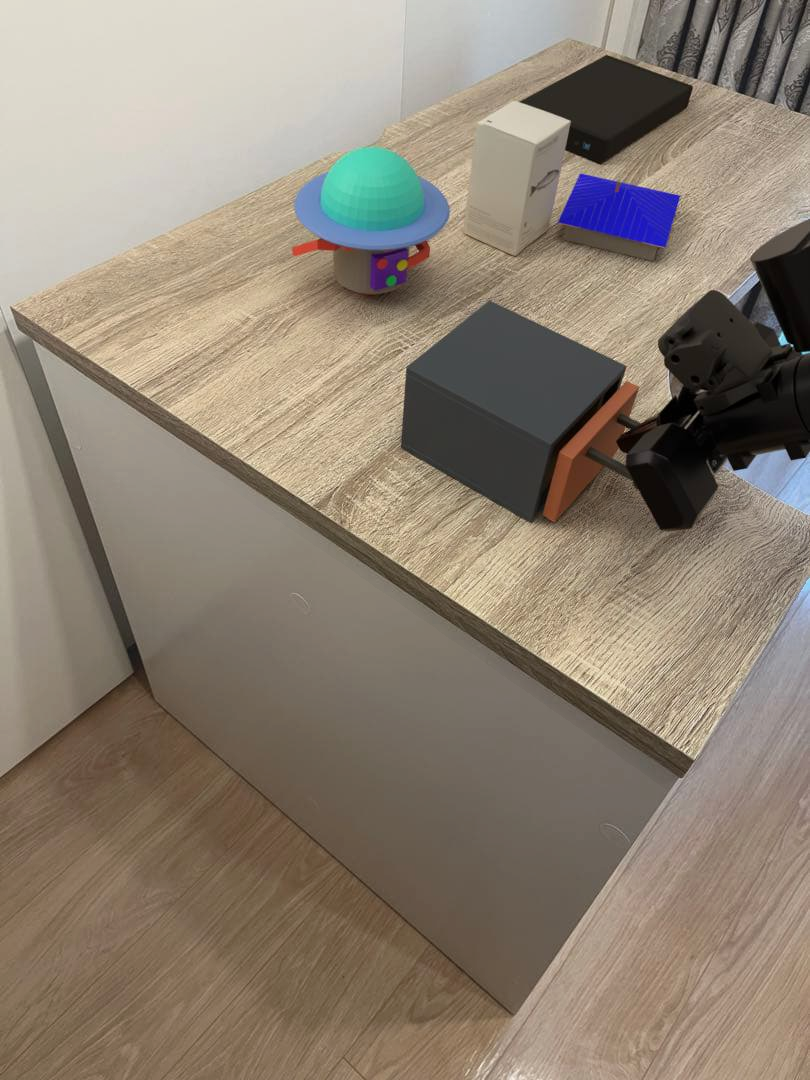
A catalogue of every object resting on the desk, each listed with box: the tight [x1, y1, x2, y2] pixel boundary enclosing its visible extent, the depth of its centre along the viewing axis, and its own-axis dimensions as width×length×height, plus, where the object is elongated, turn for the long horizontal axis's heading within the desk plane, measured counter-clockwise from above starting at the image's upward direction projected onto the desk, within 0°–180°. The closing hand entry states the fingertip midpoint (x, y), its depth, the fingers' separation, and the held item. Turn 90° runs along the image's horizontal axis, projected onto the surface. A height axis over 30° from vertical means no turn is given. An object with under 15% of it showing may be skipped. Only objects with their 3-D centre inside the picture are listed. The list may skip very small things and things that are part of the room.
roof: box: [557, 172, 681, 262], centre depth 98 cm, size 12×12×5 cm
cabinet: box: [400, 300, 627, 524], centre depth 72 cm, size 13×12×9 cm
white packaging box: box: [462, 100, 571, 257], centre depth 93 cm, size 7×7×13 cm
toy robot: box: [292, 146, 451, 296], centre depth 84 cm, size 15×15×14 cm
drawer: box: [542, 380, 641, 523], centre depth 70 cm, size 18×11×7 cm, turn 53°
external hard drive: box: [519, 54, 694, 165], centre depth 117 cm, size 14×23×3 cm, turn 140°
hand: (620, 443), depth 67 cm, fingers closed
